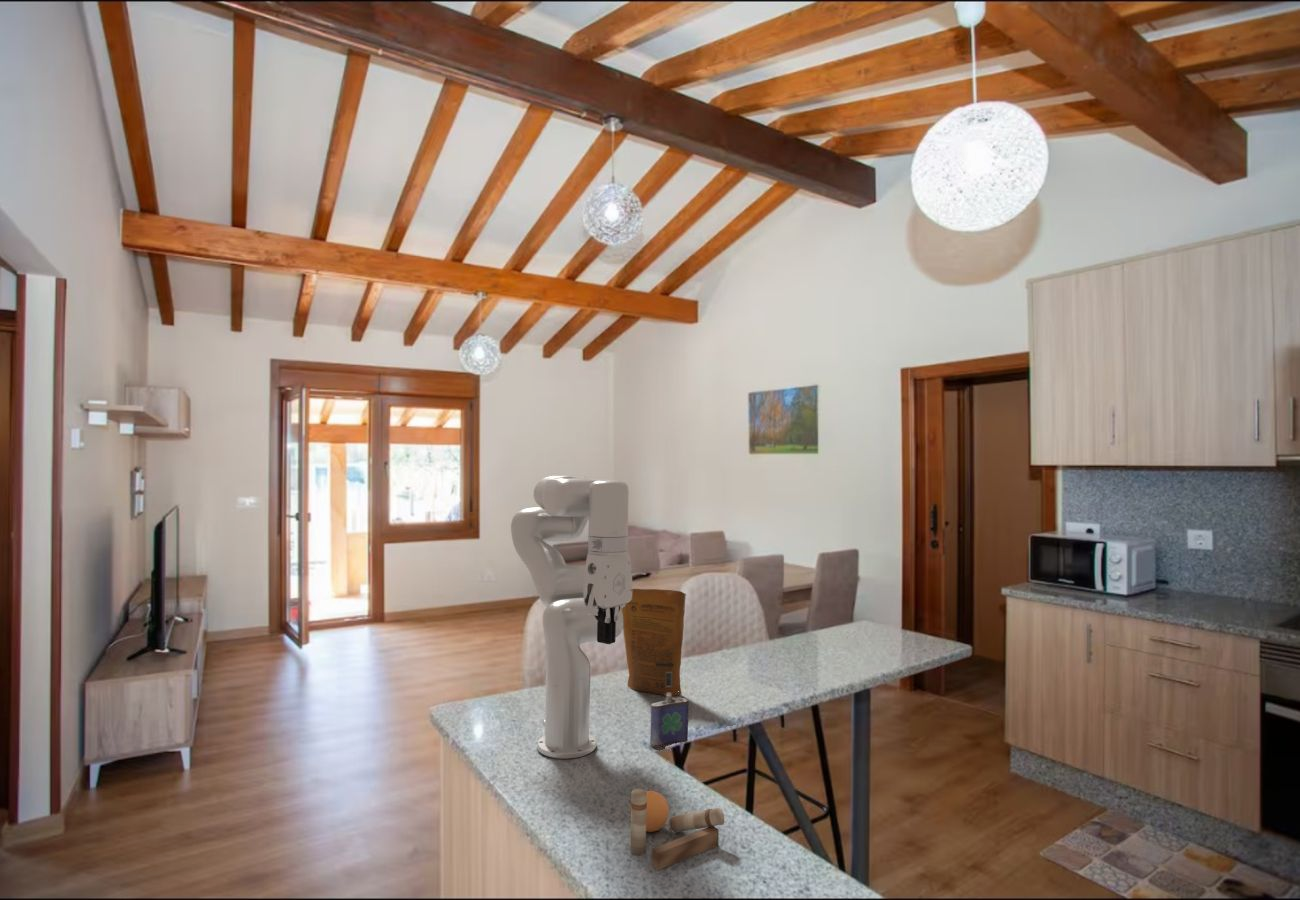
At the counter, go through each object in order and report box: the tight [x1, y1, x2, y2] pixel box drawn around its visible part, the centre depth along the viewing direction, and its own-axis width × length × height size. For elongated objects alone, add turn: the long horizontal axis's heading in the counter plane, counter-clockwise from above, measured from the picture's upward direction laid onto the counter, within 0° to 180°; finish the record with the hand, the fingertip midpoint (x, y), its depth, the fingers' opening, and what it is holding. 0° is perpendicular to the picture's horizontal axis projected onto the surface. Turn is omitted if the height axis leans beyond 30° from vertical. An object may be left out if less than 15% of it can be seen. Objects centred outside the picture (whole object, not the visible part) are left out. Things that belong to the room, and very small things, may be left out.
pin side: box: [629, 788, 647, 856], centre depth 105 cm, size 2×2×9 cm
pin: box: [669, 807, 725, 833], centre depth 109 cm, size 2×2×9 cm
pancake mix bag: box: [621, 588, 687, 697], centre depth 182 cm, size 7×19×28 cm, turn 63°
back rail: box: [651, 826, 720, 871], centre depth 104 cm, size 12×2×2 cm, turn 125°
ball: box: [645, 790, 670, 833], centre depth 111 cm, size 6×6×6 cm
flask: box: [649, 692, 690, 748], centre depth 147 cm, size 9×3×11 cm, turn 117°
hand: (606, 642), depth 127 cm, fingers closed
